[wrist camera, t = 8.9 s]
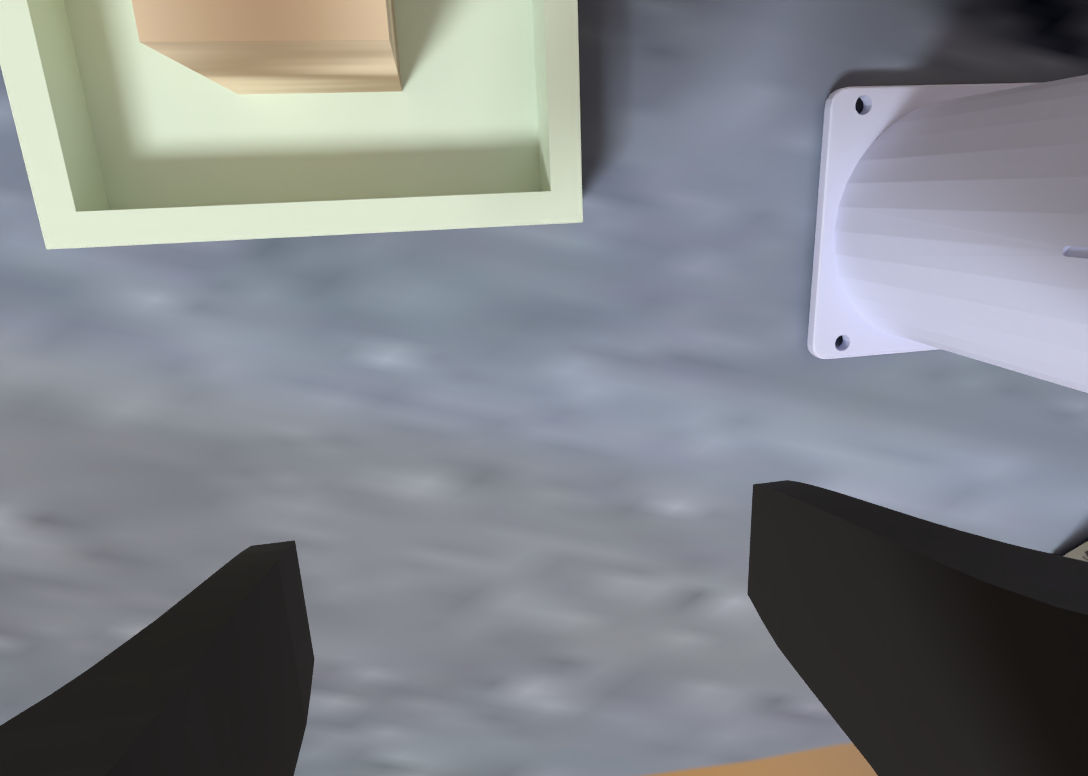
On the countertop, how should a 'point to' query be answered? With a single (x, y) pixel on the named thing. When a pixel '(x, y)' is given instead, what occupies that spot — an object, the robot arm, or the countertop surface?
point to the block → (278, 43)
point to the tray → (295, 130)
